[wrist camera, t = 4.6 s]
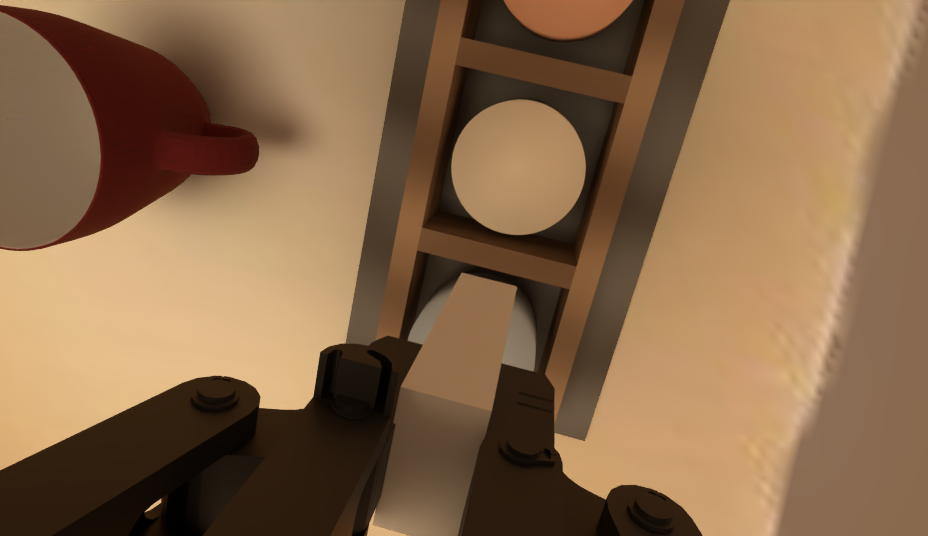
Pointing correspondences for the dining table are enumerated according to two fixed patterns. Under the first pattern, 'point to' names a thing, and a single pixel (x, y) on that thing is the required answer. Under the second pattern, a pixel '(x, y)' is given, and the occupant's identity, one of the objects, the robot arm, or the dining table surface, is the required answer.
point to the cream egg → (518, 166)
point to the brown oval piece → (566, 17)
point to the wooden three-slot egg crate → (598, 206)
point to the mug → (95, 130)
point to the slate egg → (519, 333)
